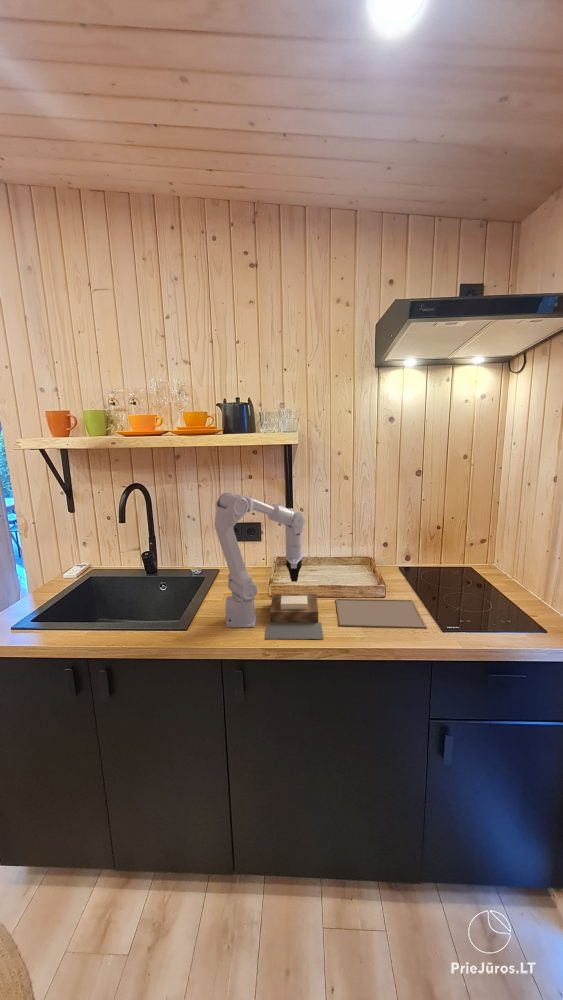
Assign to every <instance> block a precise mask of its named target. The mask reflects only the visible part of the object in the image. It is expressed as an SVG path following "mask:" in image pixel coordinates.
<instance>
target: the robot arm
mask: <svg viewBox="0 0 563 1000" xmlns="http://www.w3.org/2000/svg"><path fill="white" fill-rule="evenodd" d="M214 505H215V508H216V511H215V517H214V529H215V531H216V536H217V538H218V541H219V543H220V547H221V550H222V553H223V555H224V559H225V562H226V565H227V568H228V572H229V573H228V574H227V578H228V582H227V588H228V589H229V590H230V591H231V596H227V597H226V598H225V623H226V624H225V627H226V628H255V626H256V621H257V617H258V614H255V597H256V596H257V594H258V590H259V589H258V585H257V584H256V583H255V581H254V580H253V578H252V576H251V575H250V573H249V572H248V571H247V569H246V565H245V562H244V559H243V555H242V552H241V549H240V545H239V542H238V539H237V535H236V533H235V530H234V526H235V525H236V524H237V523H238V522H239V521H241V519H242V518H243V517H244V516H245V515H246V513H251V512H252V511H255V512H259V513H262V514H265V515H267V517H268V519H269V520H270V521H272V522H274V523H275V522H276V523H279V524H281V525H283V526H284V528H285V559H286V560H285V561H286V563H285V566H286V568H287V570H288V573H289V578H290V581H291V582H292V583H293V582H295V583H296V582H298V579H299V573H300V570H301V569H302V566H303V562H302V561H303V559H306V555H305V554H303V545H302V544H303V539H302V537H303V535H302V534H303V531H304V530H303V528H304V526H305V524H306V519H305V518H304V515H303V513H302V512H298V511H296V510H294V509H293V508H291V507H288V508H287V507H285V506H284V504H282V503H279V502H278V503H274V504H271V505H270V504H267V503H265V502H263V501H260V500H257V499H255V498H253V497H249V496H244V495H241V494H235V493H234V494H233V493H231V492H223V493H222V494H220V496H219V497H218V499H217V500H216V503H215V504H214Z"/></svg>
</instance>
